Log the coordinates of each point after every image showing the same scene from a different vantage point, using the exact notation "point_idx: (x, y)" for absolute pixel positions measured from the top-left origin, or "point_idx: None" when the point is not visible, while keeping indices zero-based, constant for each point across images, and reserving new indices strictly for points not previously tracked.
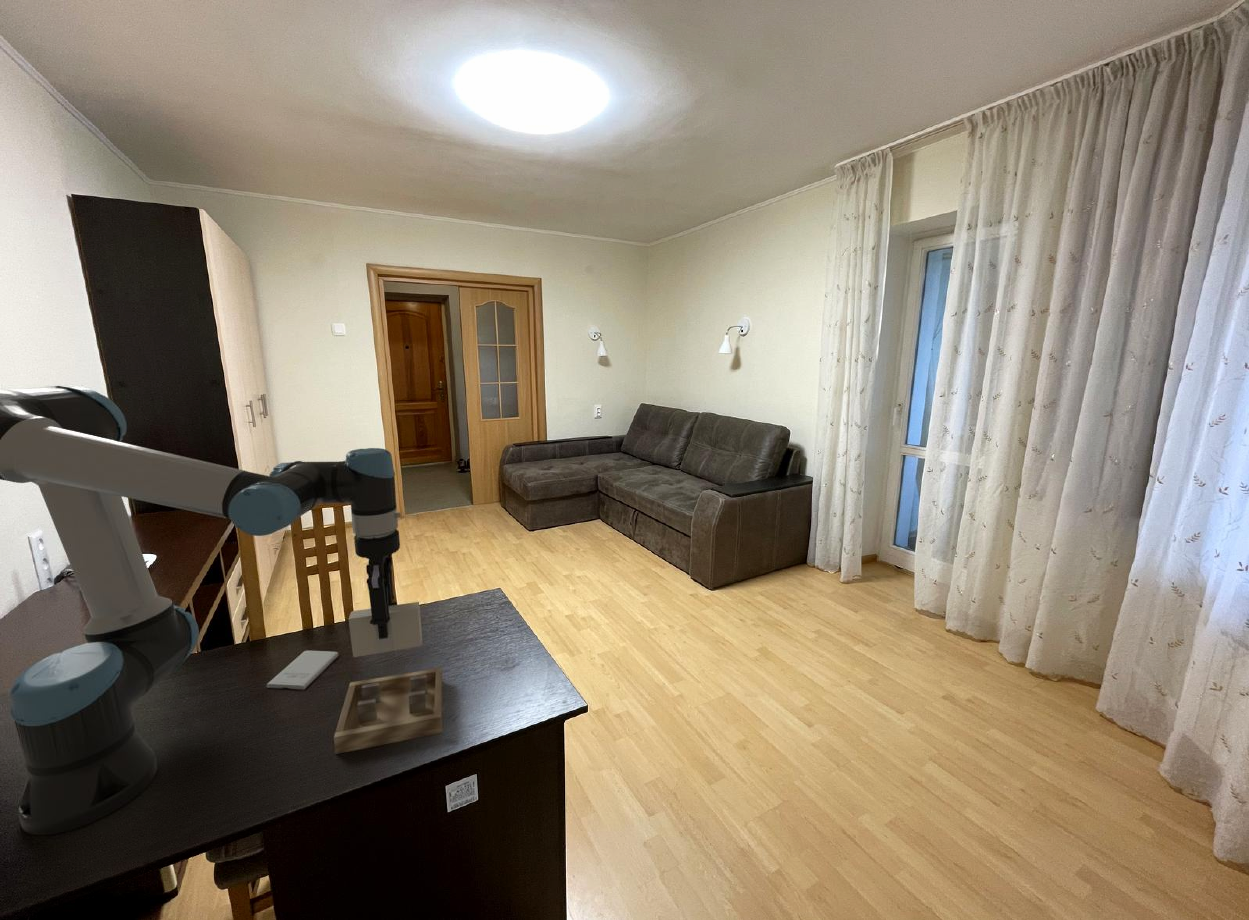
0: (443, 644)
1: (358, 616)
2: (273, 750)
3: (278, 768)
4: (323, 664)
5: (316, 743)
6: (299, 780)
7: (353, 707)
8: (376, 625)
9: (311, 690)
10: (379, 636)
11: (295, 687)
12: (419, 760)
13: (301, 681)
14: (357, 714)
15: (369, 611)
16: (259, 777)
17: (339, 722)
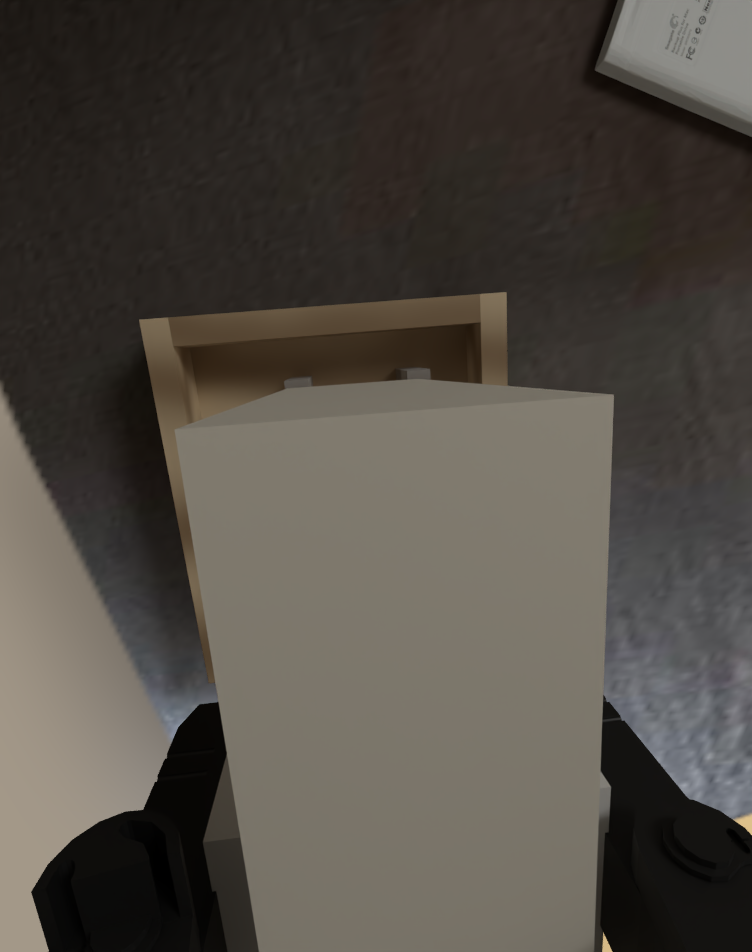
0: (726, 585)
1: (272, 639)
2: (218, 67)
3: (116, 126)
4: (746, 108)
5: (233, 236)
6: (50, 231)
7: (392, 331)
8: (219, 799)
9: (576, 109)
10: (178, 739)
11: (612, 21)
12: (107, 599)
13: (641, 36)
14: (345, 358)
15: (463, 802)
16: (76, 64)
17: (229, 318)
